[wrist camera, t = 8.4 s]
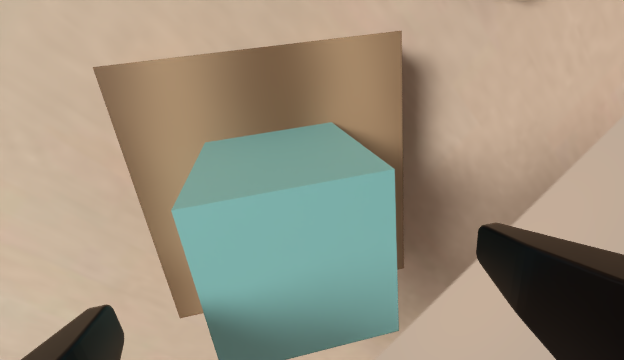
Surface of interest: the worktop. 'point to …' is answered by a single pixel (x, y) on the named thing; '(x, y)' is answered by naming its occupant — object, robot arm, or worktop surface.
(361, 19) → the worktop surface
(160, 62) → the oak base
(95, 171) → the worktop surface
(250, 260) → the teal block
